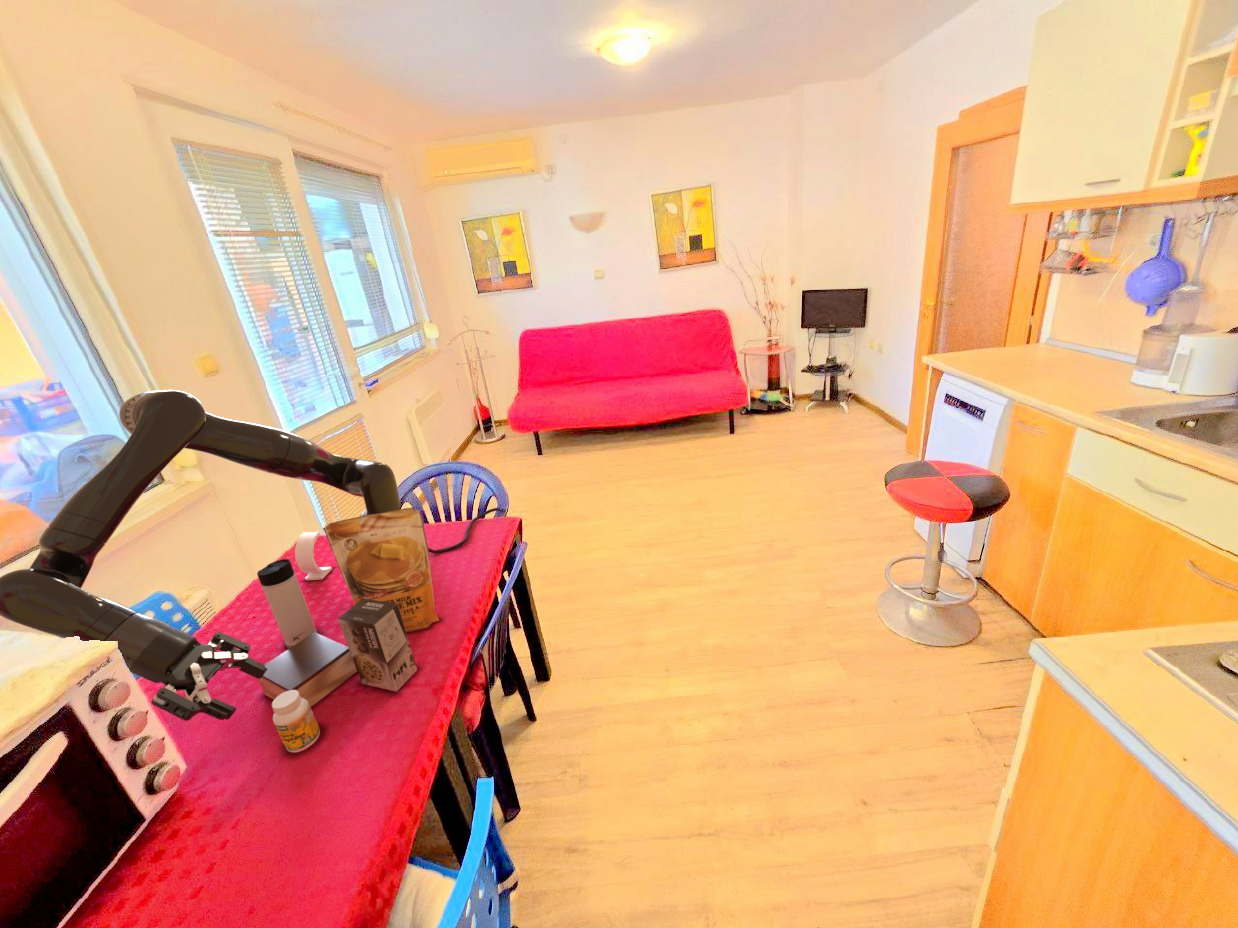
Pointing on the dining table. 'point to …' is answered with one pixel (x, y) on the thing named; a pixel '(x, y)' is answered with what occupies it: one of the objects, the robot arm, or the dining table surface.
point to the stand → (309, 669)
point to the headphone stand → (309, 557)
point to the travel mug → (286, 601)
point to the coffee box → (378, 644)
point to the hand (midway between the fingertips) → (249, 693)
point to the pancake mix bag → (387, 562)
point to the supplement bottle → (295, 721)
